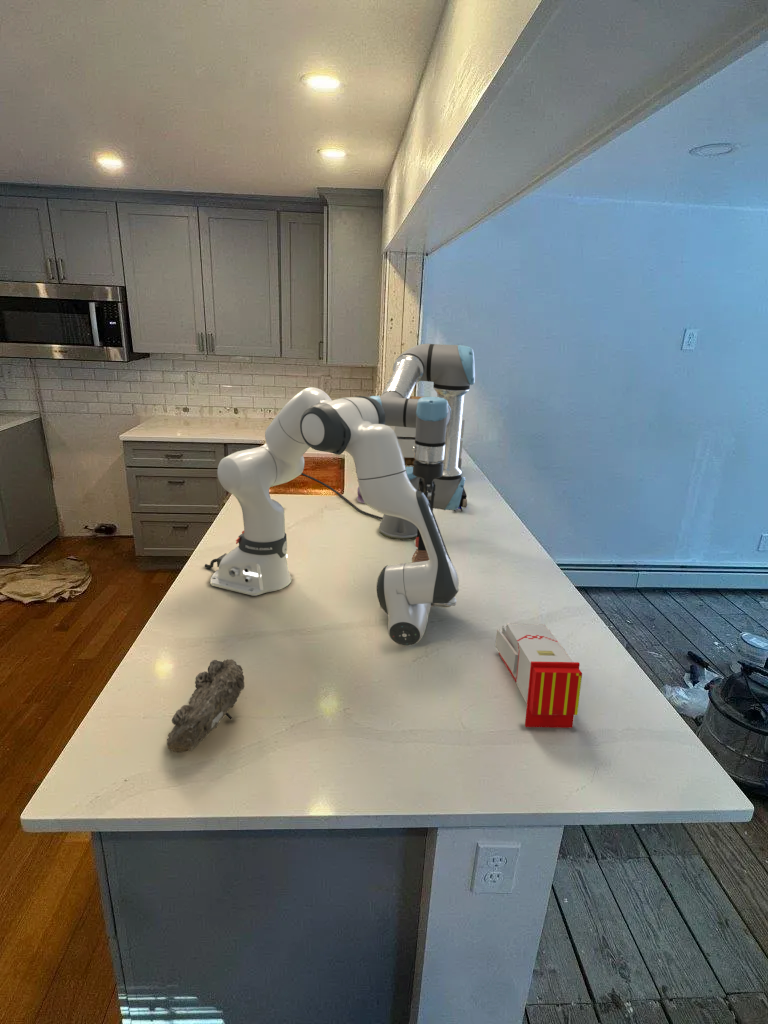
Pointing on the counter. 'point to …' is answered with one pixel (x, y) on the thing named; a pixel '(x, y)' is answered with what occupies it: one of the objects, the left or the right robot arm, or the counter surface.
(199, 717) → the fossil
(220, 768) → the counter surface
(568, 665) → the toy
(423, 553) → the bottle
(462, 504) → the figurine character
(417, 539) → the cap
